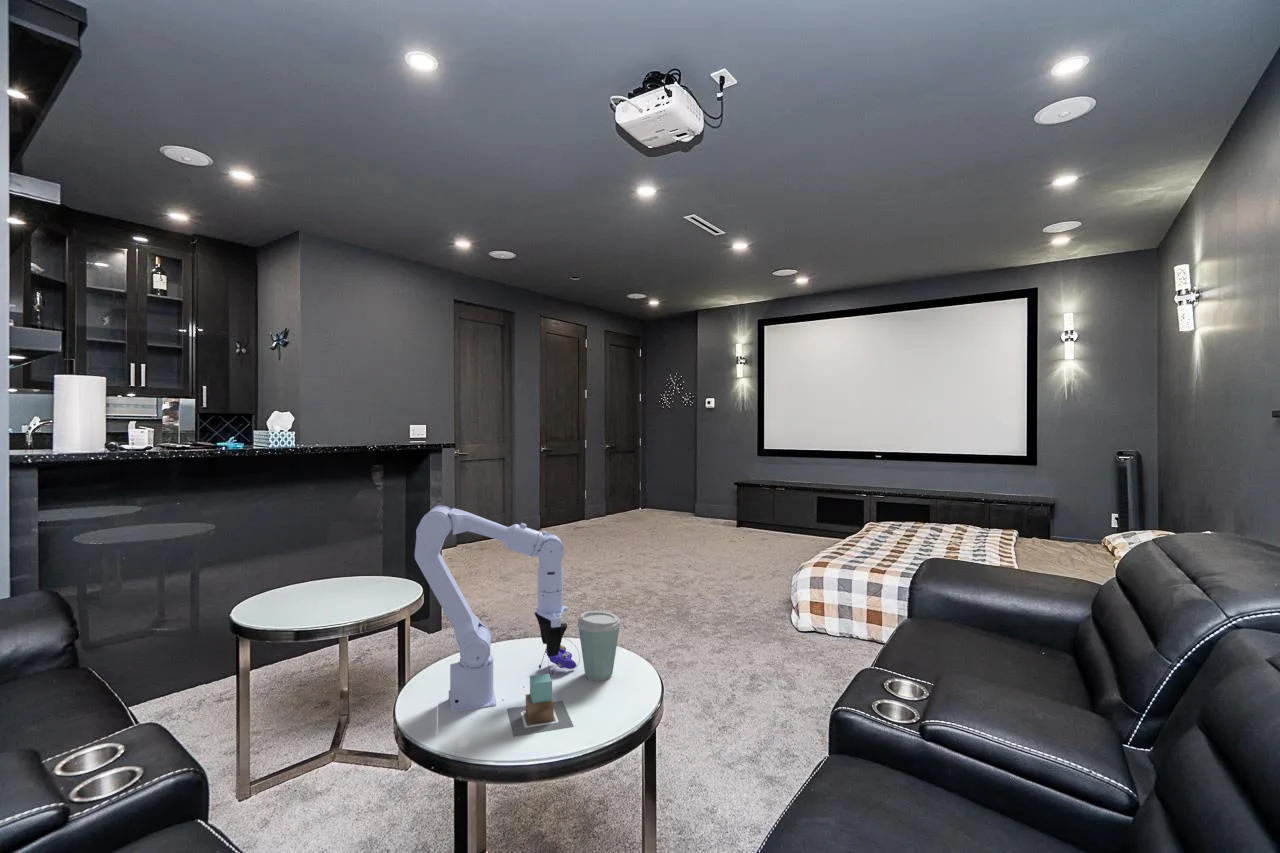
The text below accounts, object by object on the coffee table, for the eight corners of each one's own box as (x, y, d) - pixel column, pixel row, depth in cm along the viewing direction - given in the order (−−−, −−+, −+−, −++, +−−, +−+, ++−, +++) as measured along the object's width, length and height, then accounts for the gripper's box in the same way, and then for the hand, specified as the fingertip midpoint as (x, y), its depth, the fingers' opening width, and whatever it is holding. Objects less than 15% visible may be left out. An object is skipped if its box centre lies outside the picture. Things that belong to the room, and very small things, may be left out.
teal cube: (532, 703, 120) (532, 683, 120) (529, 694, 123) (529, 675, 123) (552, 700, 121) (552, 681, 121) (548, 692, 125) (548, 673, 125)
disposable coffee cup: (614, 665, 149) (614, 606, 149) (626, 683, 139) (626, 619, 139) (573, 670, 146) (573, 610, 146) (582, 689, 136) (582, 624, 136)
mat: (513, 737, 114) (513, 736, 114) (507, 709, 126) (507, 708, 126) (573, 728, 118) (573, 726, 118) (562, 701, 130) (562, 699, 130)
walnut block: (529, 724, 119) (529, 705, 119) (525, 713, 124) (525, 694, 124) (553, 721, 121) (553, 701, 121) (549, 709, 125) (549, 691, 125)
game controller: (590, 654, 147) (559, 657, 140) (579, 683, 148) (548, 688, 141) (568, 632, 154) (538, 634, 147) (558, 660, 155) (527, 663, 148)
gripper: (574, 596, 127) (574, 658, 127) (561, 579, 141) (561, 636, 141) (542, 599, 125) (541, 663, 125) (532, 582, 139) (532, 639, 139)
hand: (550, 649), depth 133 cm, fingers open, 7 cm apart
